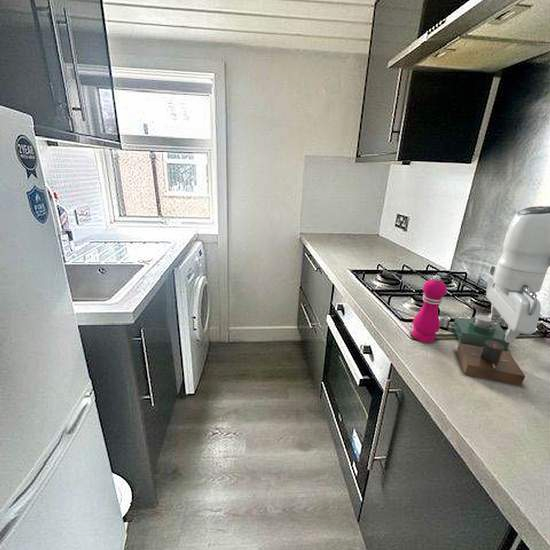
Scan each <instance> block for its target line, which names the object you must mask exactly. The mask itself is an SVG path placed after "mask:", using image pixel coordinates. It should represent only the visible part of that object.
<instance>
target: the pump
mask: <svg viewBox="0 0 550 550" xmlns="http://www.w3.org/2000/svg"><path fill="white" fill-rule="evenodd" d="M475 317H476V319H475V323H476V324H477V325H480V326H483V327H490V326H491V323H492V321H491V320H490V316H487V315H484V314H477V315H476V316H475Z"/></svg>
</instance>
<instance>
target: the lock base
mask: <svg viewBox="0 0 550 550" xmlns="http://www.w3.org/2000/svg"><path fill="white" fill-rule="evenodd" d="M482 349H483V346H479V345H474V344H468V343H463V342H458V345H457V348H456V355H457V357H458V360H459V363H460V366H461V368H462V371H463V373H464V375H465V376H470V377H475V378H481V379H485V380H489V381H495V382H499V383H504V384H509V385H513V386H518V387H522V385H523V383H524V380H525V378H526V375H525V374H524V371H522V369H521V367H520V366H519V364H518V363H517V361H516V360H515V358H514V356H513V355H512V353H511V352H510V351H506V350H503V352H502V354H501V357H500V360H499V362H497V363H492V362H489V361H486V360H484V359H483V358H482V357H481V352H482Z"/></svg>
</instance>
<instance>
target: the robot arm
mask: <svg viewBox="0 0 550 550" xmlns="http://www.w3.org/2000/svg"><path fill="white" fill-rule="evenodd" d="M502 243H503V244H502V249H503V250H502V254H501V256H500V258H499V259H498V261H497V263H496V264H491V265H490V267H489V270H488V273H489V274H490V275H489V277H488V281H487V286H486V289H485V291H486V292H485V295H486V299H487V300H488V301H489V302H490V303H491V305H490V316H489V318H490V320H491V321H492V322H493V323H495V324H500V323H501V320H502V319H503V320H504V322H505V323H506V324H507V331H506V332H505V331H504V332H505V333H504V336H503V339H504V340H505V342H508V343H510V344H513V343H515V341H516V338H517V337H518V336H519V335H520V334H521V335H533V334H534V333H535V332H536V329H537V326H538V323H539V319H540V315H541V309H542V304H541V302H540V300H539V299H538V298H537V296H538V295H537V293H539V292H540V291H541V289H542V286H543V283H544V280H545V277H546V276H547V272H548V269H549V267H550V205H549V206H548V205H545V206H543V205H540V206H530V207H525V208H523V209H520V210H519V211H517V212H516V213H515V214H514V216H513V218H512V219H511V221H510V223H509V226H508V227H507V231H506V233H505V237H504V239H503V242H502Z"/></svg>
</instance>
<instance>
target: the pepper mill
mask: <svg viewBox="0 0 550 550" xmlns="http://www.w3.org/2000/svg"><path fill="white" fill-rule="evenodd" d="M422 291H423V294H422V300H423V304H422V306H421V308H420V310H419V311H418V312H417V313H416V314H415V316H414V318H413V320H412V326H413V327H414V328H413V329H412V332H411V334H412V337H413V338H414V339H415V340H417V341H419V342H422V343H433V342H435V340H436V336H437V334H436V333H438V332H439V331H440V328H441V321H440V317H439V311H438V310H439V307H440V305H441V304H442V303H443V297H444V296H445V295H446V294H447V291H448V287H447V285H446V284H445V283H444V282H443V281H442V278H441V276H440V275H438V274H436V275H434V277H433V279H429V280H426V281H425V282H424V283H423V286H422Z"/></svg>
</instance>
